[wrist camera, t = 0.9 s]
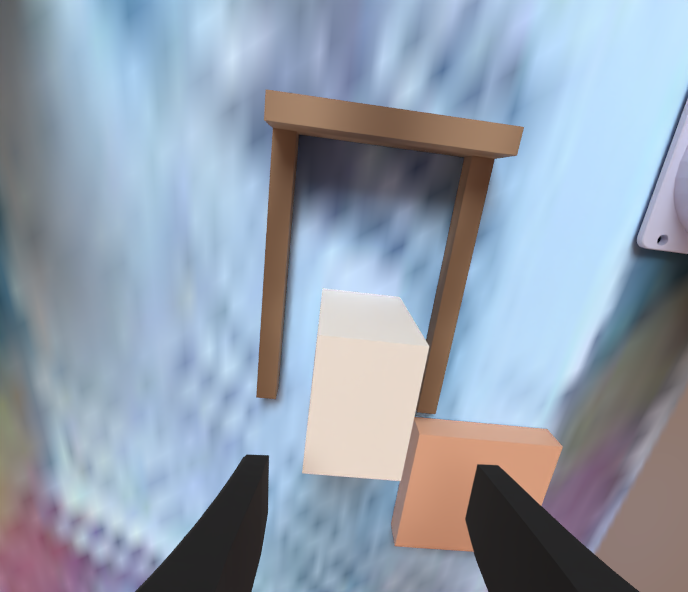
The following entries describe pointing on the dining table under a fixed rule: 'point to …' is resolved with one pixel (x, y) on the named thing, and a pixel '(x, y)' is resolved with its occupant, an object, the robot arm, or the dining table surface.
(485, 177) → the frame
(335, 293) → the block
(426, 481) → the tile
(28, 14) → the dining table surface
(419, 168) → the dining table surface
